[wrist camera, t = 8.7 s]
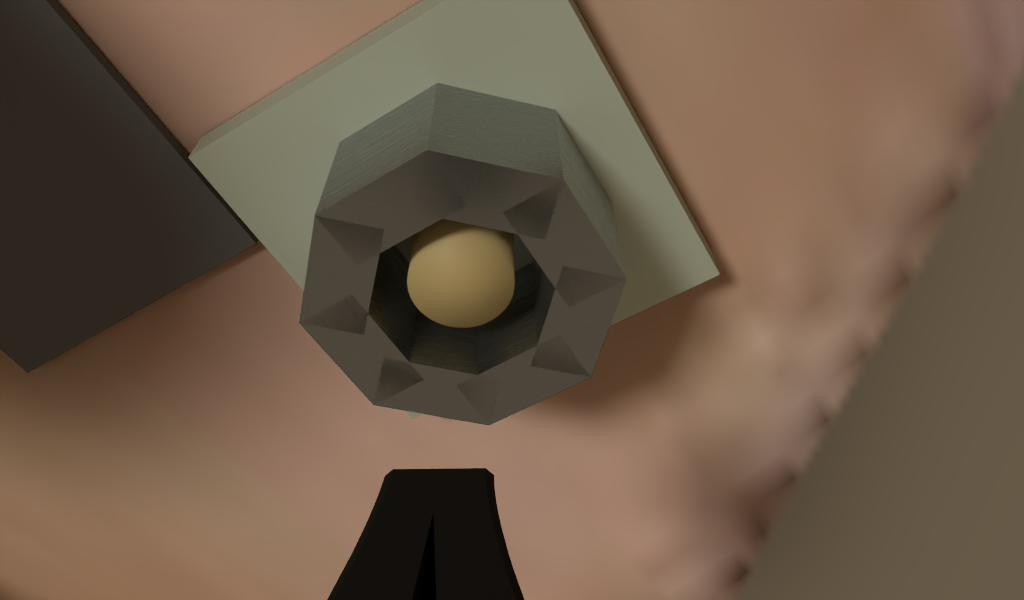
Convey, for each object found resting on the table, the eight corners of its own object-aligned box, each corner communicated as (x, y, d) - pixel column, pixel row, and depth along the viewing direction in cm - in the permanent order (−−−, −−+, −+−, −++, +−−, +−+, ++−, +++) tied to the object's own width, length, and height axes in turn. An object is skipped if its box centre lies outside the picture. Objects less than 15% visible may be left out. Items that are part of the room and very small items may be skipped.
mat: (32, 364, 23) (27, 372, 23) (-223, 135, 19) (-233, 141, 19) (259, 236, 21) (256, 243, 21) (19, -43, 18) (12, -39, 17)
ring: (430, 366, 22) (421, 457, 19) (274, 180, 19) (240, 258, 17) (647, 257, 20) (667, 341, 18) (510, 37, 17) (512, 100, 15)
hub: (416, 392, 23) (403, 494, 21) (201, 136, 20) (149, 218, 17) (711, 250, 21) (744, 343, 18) (535, -69, 17) (541, -16, 14)
